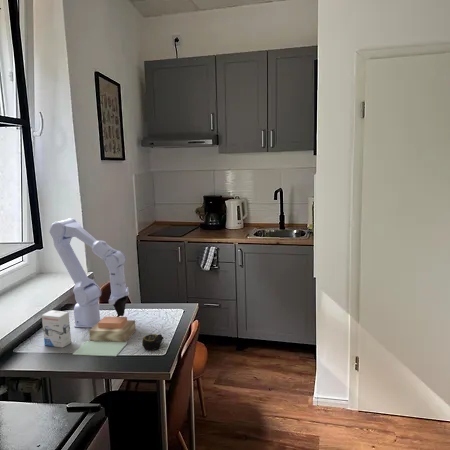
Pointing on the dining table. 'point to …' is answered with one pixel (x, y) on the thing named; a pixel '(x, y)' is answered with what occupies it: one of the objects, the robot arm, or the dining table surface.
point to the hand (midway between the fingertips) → (120, 315)
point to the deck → (113, 332)
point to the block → (112, 322)
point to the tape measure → (152, 341)
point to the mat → (100, 348)
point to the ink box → (56, 328)
